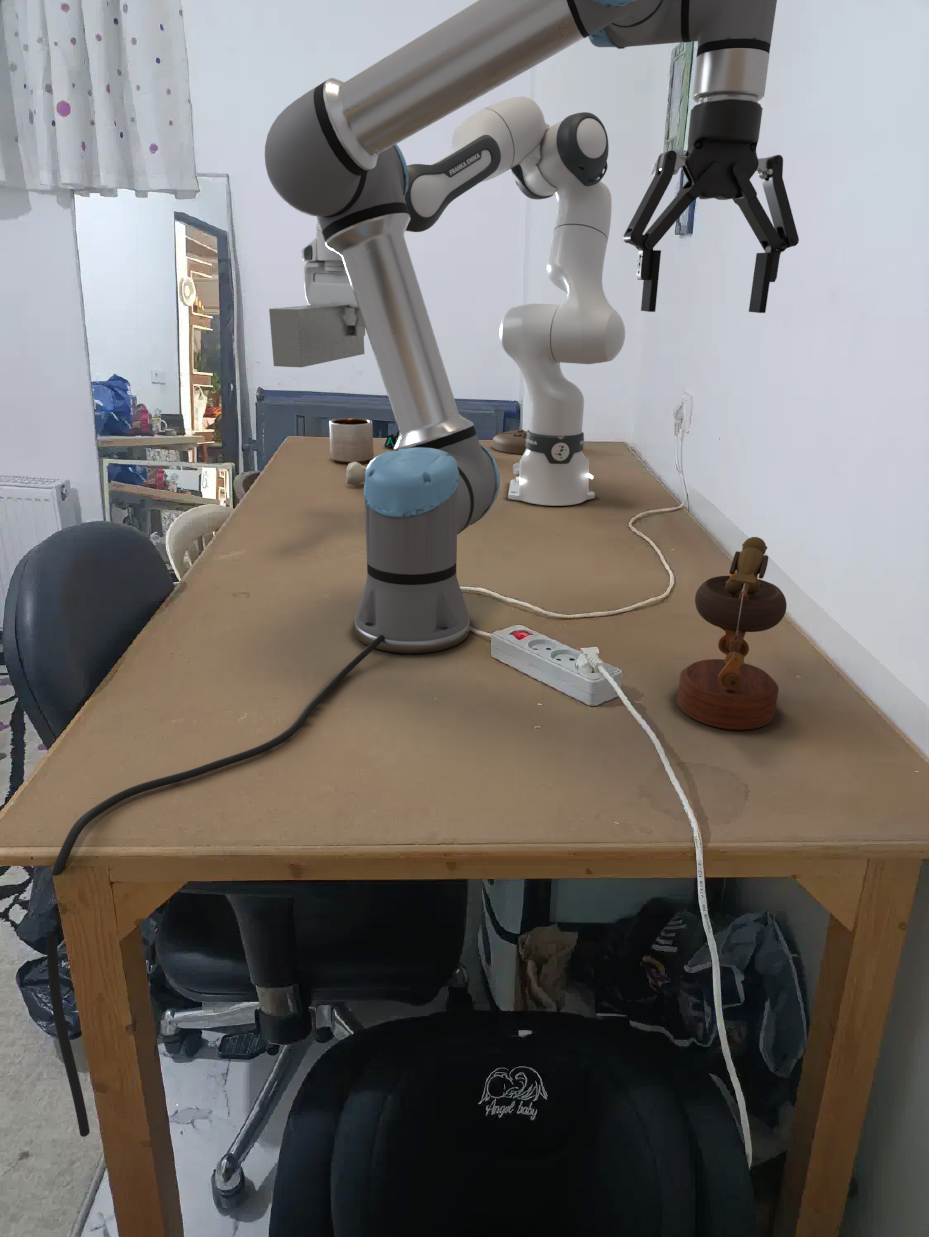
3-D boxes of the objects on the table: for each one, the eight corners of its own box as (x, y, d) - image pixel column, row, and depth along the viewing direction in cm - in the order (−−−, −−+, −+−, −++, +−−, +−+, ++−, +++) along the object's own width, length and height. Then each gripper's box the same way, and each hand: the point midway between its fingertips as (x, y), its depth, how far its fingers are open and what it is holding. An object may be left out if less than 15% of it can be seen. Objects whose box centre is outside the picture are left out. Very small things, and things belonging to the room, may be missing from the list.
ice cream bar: (498, 463, 213) (499, 446, 211) (490, 442, 239) (491, 427, 237) (581, 463, 214) (582, 447, 212) (564, 443, 240) (565, 428, 238)
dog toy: (433, 479, 195) (433, 458, 193) (437, 486, 189) (437, 463, 187) (345, 481, 191) (344, 459, 190) (346, 488, 186) (345, 465, 184)
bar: (301, 367, 133) (297, 309, 130) (273, 366, 135) (268, 308, 132) (364, 354, 154) (362, 303, 150) (339, 353, 155) (337, 302, 152)
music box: (793, 740, 87) (809, 557, 80) (685, 741, 89) (691, 560, 81) (762, 676, 102) (773, 514, 94) (668, 677, 103) (672, 518, 95)
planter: (327, 456, 217) (325, 418, 214) (369, 454, 220) (368, 417, 217) (334, 465, 208) (332, 425, 204) (377, 463, 211) (376, 424, 207)
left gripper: (814, 114, 97) (785, 311, 105) (605, 104, 93) (591, 309, 101) (852, 103, 90) (817, 314, 98) (628, 91, 86) (611, 312, 94)
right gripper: (393, 250, 141) (395, 338, 146) (326, 251, 155) (329, 330, 160) (362, 249, 137) (365, 339, 142) (296, 250, 151) (300, 332, 156)
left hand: (702, 312), depth 100 cm, fingers open, 13 cm apart
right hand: (346, 334), depth 151 cm, fingers closed on bar, 6 cm apart
